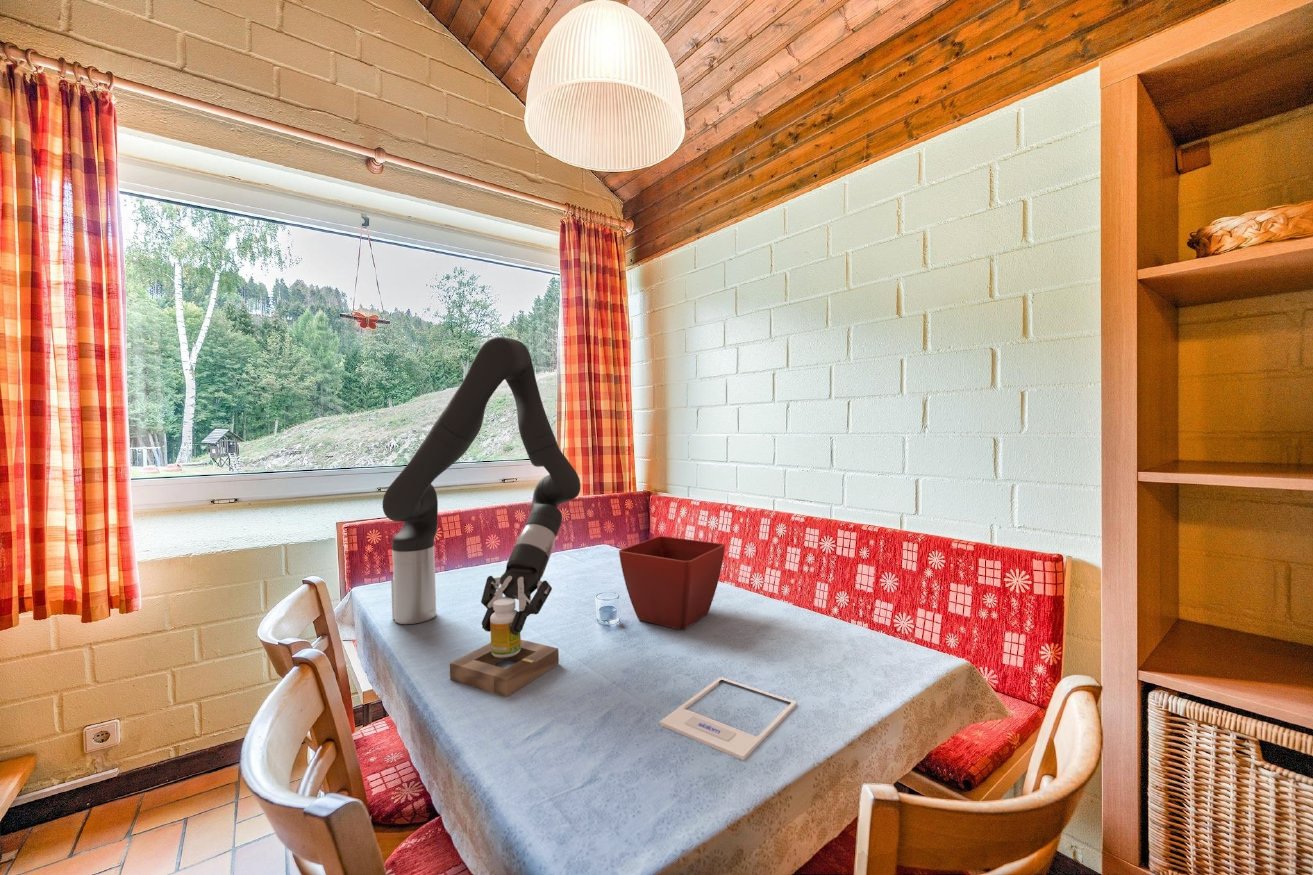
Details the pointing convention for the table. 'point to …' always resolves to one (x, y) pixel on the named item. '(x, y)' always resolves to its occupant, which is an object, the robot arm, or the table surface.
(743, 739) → the photo frame
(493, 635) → the supplement bottle
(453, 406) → the robot arm
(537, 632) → the table surface
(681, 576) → the plant pot
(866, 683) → the table surface
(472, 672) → the socket block
